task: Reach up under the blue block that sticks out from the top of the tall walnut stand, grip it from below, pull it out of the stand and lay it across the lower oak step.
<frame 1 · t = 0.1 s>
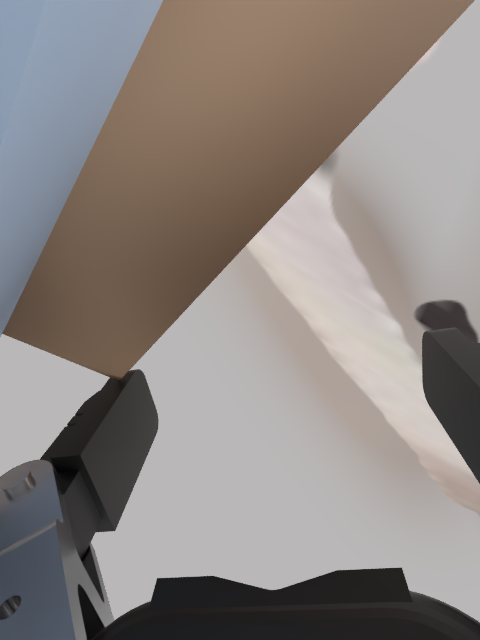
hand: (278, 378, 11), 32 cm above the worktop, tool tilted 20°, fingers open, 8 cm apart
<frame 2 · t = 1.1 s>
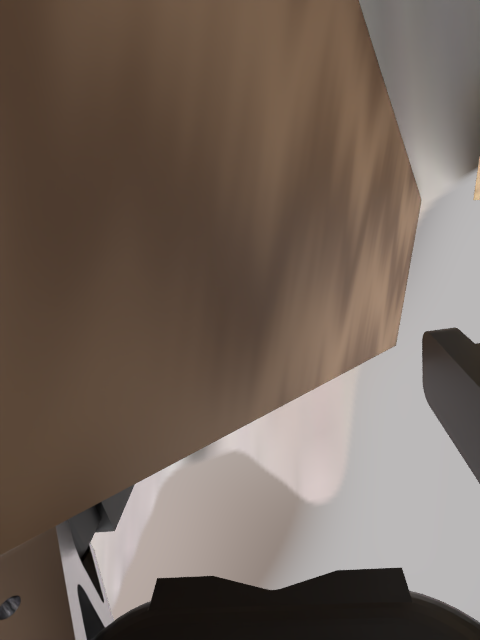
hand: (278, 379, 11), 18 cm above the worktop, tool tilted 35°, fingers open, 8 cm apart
stand: (288, 262, 30), on the worktop
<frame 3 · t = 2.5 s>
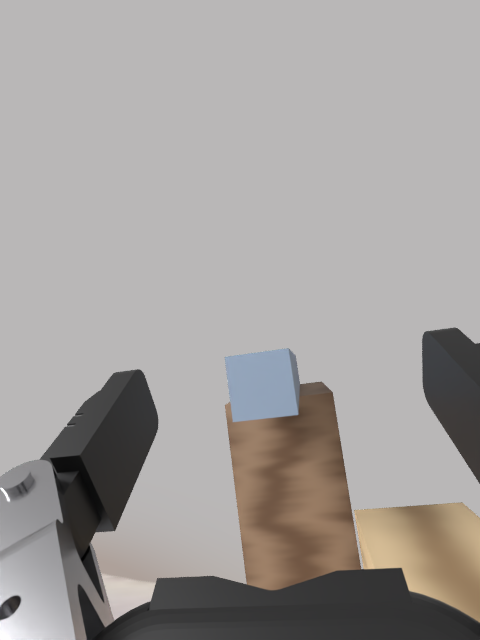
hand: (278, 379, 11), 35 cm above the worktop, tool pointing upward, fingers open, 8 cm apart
blue block: (279, 395, 37), point 32 cm above the worktop, touching stand
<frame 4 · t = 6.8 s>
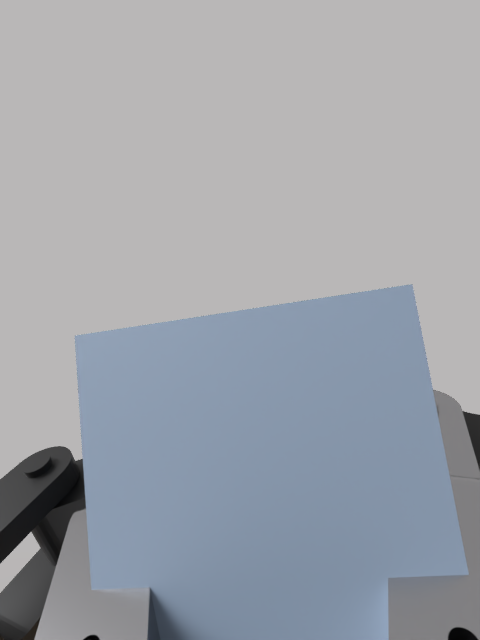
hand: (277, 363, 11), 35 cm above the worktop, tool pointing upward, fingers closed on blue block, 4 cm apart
blue block: (297, 430, 18), point 32 cm above the worktop, touching gripper, stand
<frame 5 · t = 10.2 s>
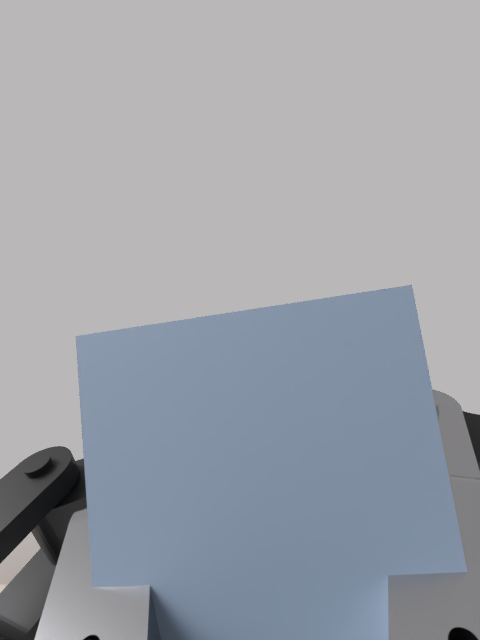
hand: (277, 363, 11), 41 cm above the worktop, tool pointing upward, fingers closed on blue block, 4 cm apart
blue block: (297, 430, 18), point 38 cm above the worktop, touching gripper
when the fingers open (29 cm above the worktop, at t = 14.1 s): blue block drops 3 cm, resting on step.
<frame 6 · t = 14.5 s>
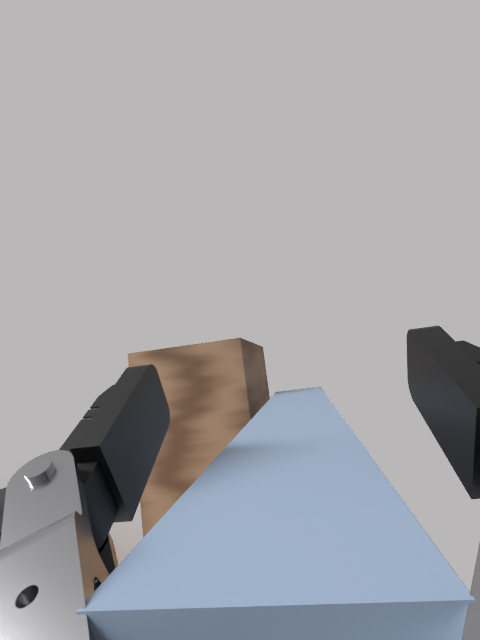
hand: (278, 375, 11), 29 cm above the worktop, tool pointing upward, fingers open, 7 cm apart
blue block: (306, 495, 18), point 23 cm above the worktop, touching step
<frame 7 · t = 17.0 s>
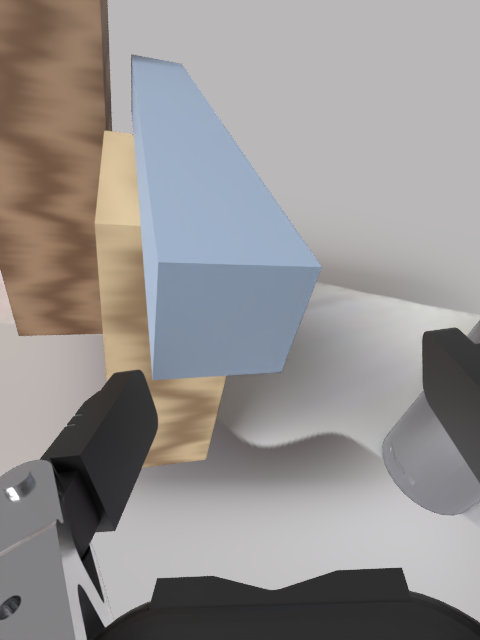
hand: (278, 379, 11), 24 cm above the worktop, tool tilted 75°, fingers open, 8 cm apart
stand: (75, 286, 48), on the worktop
step: (155, 400, 37), on the worktop
blue block: (171, 180, 22), point 23 cm above the worktop, touching step
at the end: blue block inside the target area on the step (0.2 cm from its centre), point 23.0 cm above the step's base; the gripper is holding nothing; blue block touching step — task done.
